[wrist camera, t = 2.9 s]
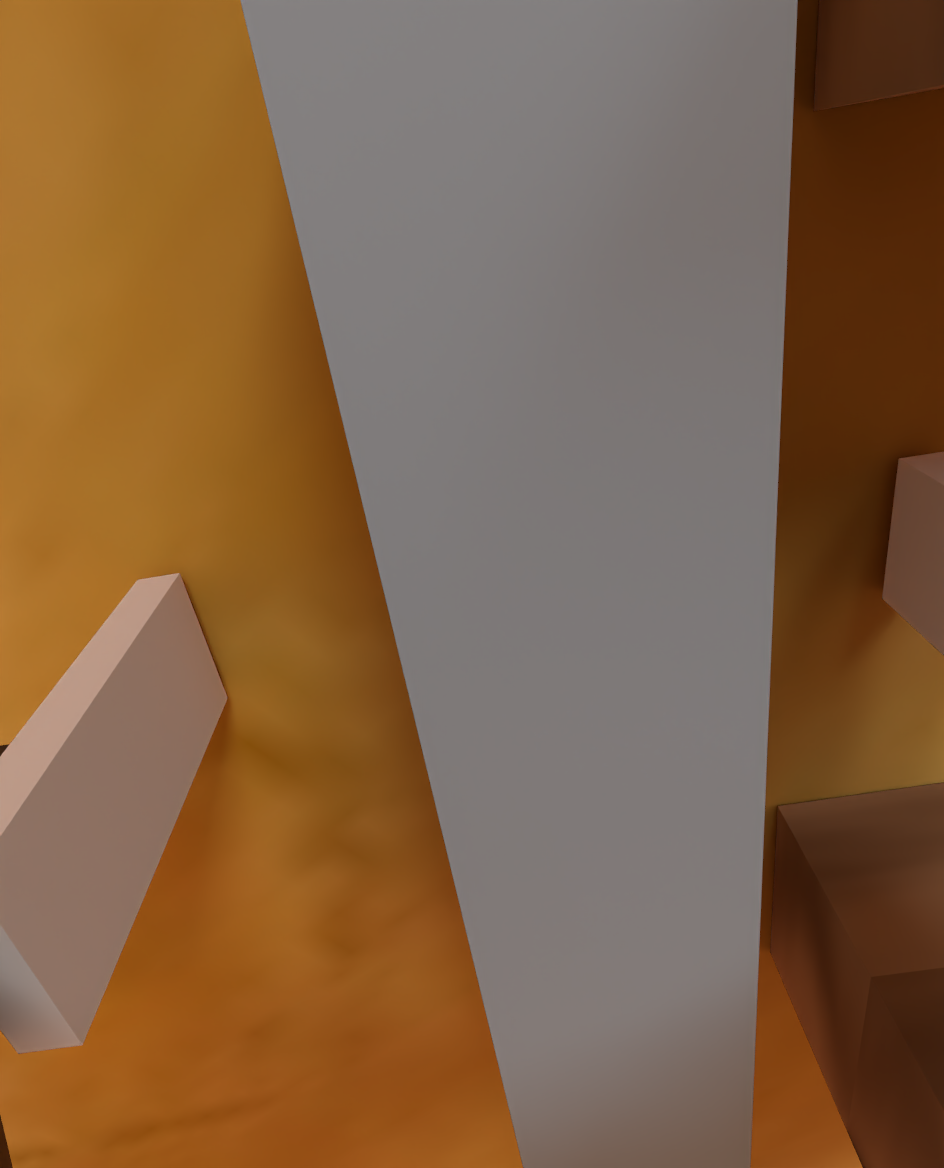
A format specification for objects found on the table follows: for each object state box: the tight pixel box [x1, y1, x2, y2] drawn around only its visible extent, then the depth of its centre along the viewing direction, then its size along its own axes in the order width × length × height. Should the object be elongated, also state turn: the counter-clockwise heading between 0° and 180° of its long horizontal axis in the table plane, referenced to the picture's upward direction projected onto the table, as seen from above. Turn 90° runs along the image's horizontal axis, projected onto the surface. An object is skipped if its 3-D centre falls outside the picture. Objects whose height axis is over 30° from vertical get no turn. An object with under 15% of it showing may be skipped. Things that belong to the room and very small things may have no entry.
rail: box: [241, 0, 798, 1168], centre depth 11 cm, size 19×4×6 cm, turn 9°
